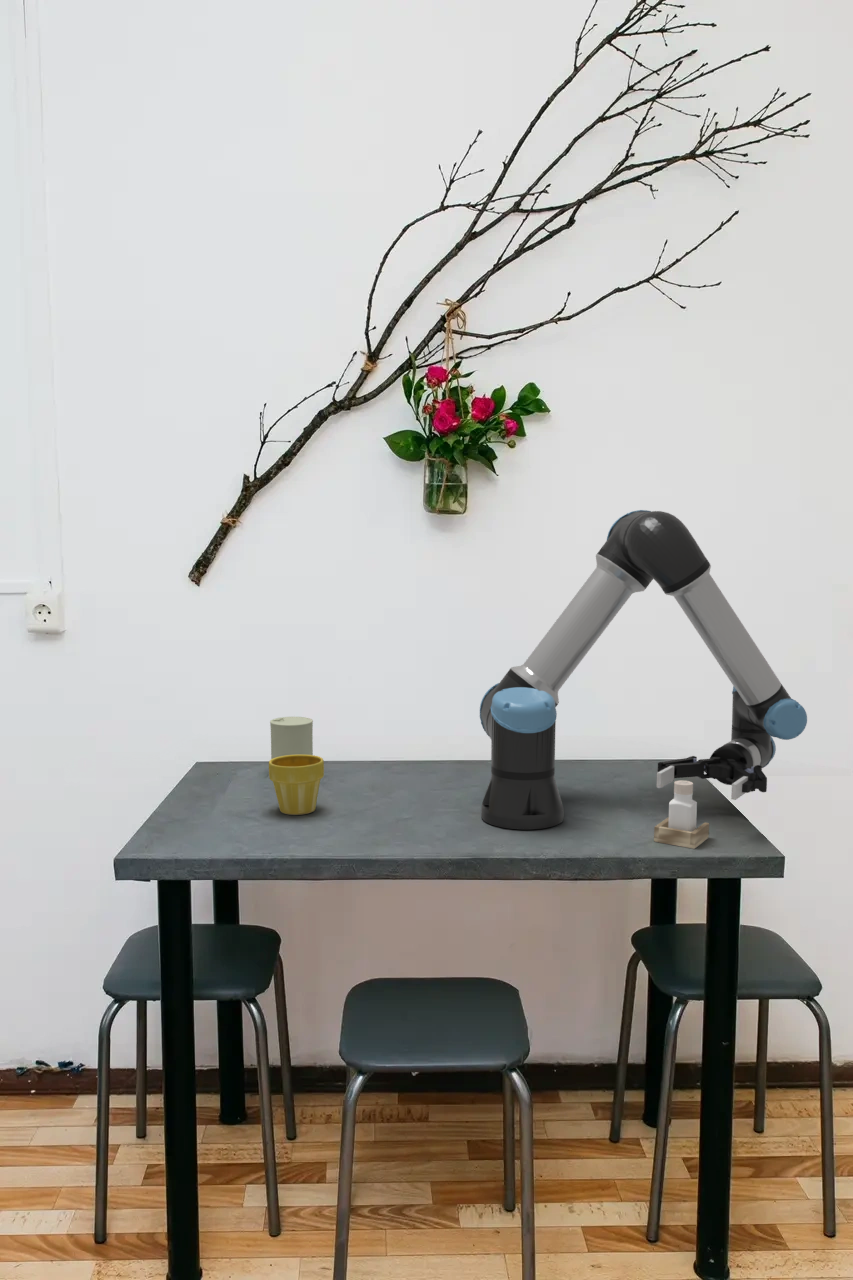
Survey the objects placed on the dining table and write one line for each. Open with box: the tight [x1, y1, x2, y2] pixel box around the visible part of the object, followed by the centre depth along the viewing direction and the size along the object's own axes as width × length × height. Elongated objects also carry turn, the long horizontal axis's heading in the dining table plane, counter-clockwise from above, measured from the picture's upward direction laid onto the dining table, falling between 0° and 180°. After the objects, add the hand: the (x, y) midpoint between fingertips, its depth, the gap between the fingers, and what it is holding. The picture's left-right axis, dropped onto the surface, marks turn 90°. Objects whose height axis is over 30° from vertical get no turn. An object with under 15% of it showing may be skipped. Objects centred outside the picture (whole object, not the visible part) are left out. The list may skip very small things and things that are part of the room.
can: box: [269, 716, 314, 760], centre depth 229 cm, size 9×9×12 cm
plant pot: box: [268, 754, 325, 816], centre depth 201 cm, size 10×10×10 cm
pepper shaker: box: [668, 780, 698, 832], centre depth 184 cm, size 4×4×10 cm
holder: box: [653, 816, 710, 850], centre depth 184 cm, size 7×7×3 cm
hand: (695, 786), depth 187 cm, fingers open, 13 cm apart
